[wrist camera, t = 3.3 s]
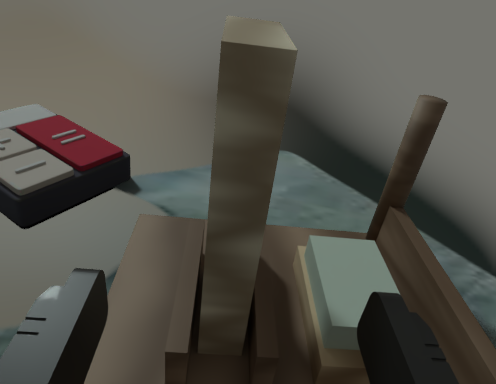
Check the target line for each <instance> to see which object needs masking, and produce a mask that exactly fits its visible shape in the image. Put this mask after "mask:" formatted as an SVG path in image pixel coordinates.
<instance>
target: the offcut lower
mask: <svg viewBox="0 0 496 384" xmlns="http://www.w3.org/2000/svg"><path fill="white" fill-rule="evenodd" d="M305 250H306V246H297V250H296V254H295V258H294V262H293V268H294V273H295V279H296V285H297V291H298V296H299V302H300V308H301V314H302V319H303V325H304V331H305V337H306V342H307V348H308V354H309V360H310V365H311V371H312V377H313V383H314V384H370V382H369V378H368V375H367V372H366V368H365V365H364V362H363V358H362V355H361V352H360V350H348V349H330V348H324V346H323V341H322V337H321V332H320V327H319V323H318V318H317V314H316V309H315V304H314V300H313V295H312V290H311V286H310V281H309V277H308V272H307V267H306V263H305V258H304V254H305Z"/></svg>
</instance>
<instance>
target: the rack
mask: <svg viewBox="0 0 496 384" xmlns="http://www.w3.org/2000/svg"><path fill="white" fill-rule="evenodd" d="M446 106H447V102H446V101H445V100H443V99H440V98H437V97H434V96H429V95H420V96H419V97H418V99H417V102H416V105H415V108H414V110H413V113H412V115H411V118H410V121H409V123H408V126H407V129H406V132H405V134H404V137H403V139H402V142H401V145H400V147H399V150H398V153H397V156H396V158H395V161H394V163H393V166H392V169H391V171H390V174H389V177H388V179H387V182H386V185H385V187H384V190H383V193H382V195H381V198H380V201H379V203H378V206H377V208H376V211H375V214H374V216H373V219H372V222H371V224H370V227H369V230H368V232H367V233H359V232H347V231H335V230H323V229H311V228H300V227H288V226H276V225H265V231H264V236H263V241H262V247H261V252H260V258H259V263H258V269H257V274H256V280H255V285H254V290H253V296H252V301H251V307H250V312H249V318H248V323H247V328H246V334H245V339H244V345H243V350H242V356H236V355H218V354H200V353H198V340H199V327H200V314H201V301H202V288H203V275H204V262H205V249H206V236H207V223H208V220H205V219H193V218H182V217H170V216H158V215H146V214H140V215H139V217H138V220H137V222H136V225H135V227H134V230H133V232H132V235H131V237H130V240H129V243H128V245H127V248H126V250H125V253H124V256H123V258H122V260H121V263H120V265H119V268H118V271H117V273H116V276H115V278H114V281H113V283H112V286H111V288H110V291H109V294H108V296H107V298H108V316H107V321H106V325H105V328H104V331H103V333H102V336H101V339H100V341H99V344H98V347H97V349H96V352H95V355H94V358H93V360H92V363H91V366H90V368H89V371H88V374H87V376H86V379H85V382H84V384H314V383H313V377H312V371H311V365H310V360H309V354H308V348H307V342H306V337H305V331H304V325H303V319H302V314H301V308H300V302H299V296H298V291H297V285H296V279H295V273H294V268H293V262H294V258H295V254H296V250H297V246H307V243H308V239H309V235H313V236H325V237H337V238H349V239H361V240H373V241H375V243H376V245H377V247H378V249H379V251H380V253H381V255H382V257H383V259H384V262H385V264H386V266H387V268H388V270H389V272H390V274H391V276H392V278H393V280H394V282H395V285H396V287H397V289H398V291H399V293H400V295H401V296H402V298H403V300H404V302H405V304H406V306H407V308H408V310H409V312H415V313H417V314H418V315H419V316H420V317H421V318H422V319H423V320H424V321H425V322H426V323H427V324H428V326H429V327H430V328H431V330H432V332H433V333H434V335H435V337H436V339H437V341H438V343H439V348H441V349H442V351H443V353H444V355H445V357H446V362H448V363H449V365H450V367H451V369H452V371H453V373H454V375H455V376H456V378H457V380H458V382H459V384H496V349H495V347H494V346H493V344H492V343H491V341H490V339H489V338H488V336H487V335H486V333H485V332H484V330H483V329H482V327H481V326H480V324H479V323H478V321H477V320H476V318H475V317H474V315H473V314H472V312H471V311H470V309H469V307H468V306H467V304H466V303H465V301H464V300H463V298H462V297H461V295H460V294H459V292H458V291H457V289H456V288H455V286H454V285H453V283H452V282H451V280H450V279H449V277H448V275H447V274H446V272H445V271H444V269H443V268H442V266H441V265H440V263H439V262H438V260H437V259H436V257H435V256H434V254H433V253H432V251H431V250H430V248H429V246H428V245H427V243H426V242H425V240H424V239H423V237H422V236H421V234H420V233H419V231H418V230H417V228H416V227H415V225H414V224H413V222H412V221H411V219H410V218H409V216H408V215H407V213H406V212H405V210H404V208H403V207H404V205H405V203H406V200H407V198H408V195H409V193H410V191H411V188H412V186H413V184H414V181H415V179H416V176H417V174H418V172H419V169H420V167H421V165H422V162H423V160H424V158H425V155H426V153H427V151H428V148H429V146H430V144H431V141H432V139H433V136H434V134H435V132H436V129H437V127H438V125H439V122H440V120H441V118H442V115H443V113H444V111H445V108H446Z"/></svg>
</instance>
